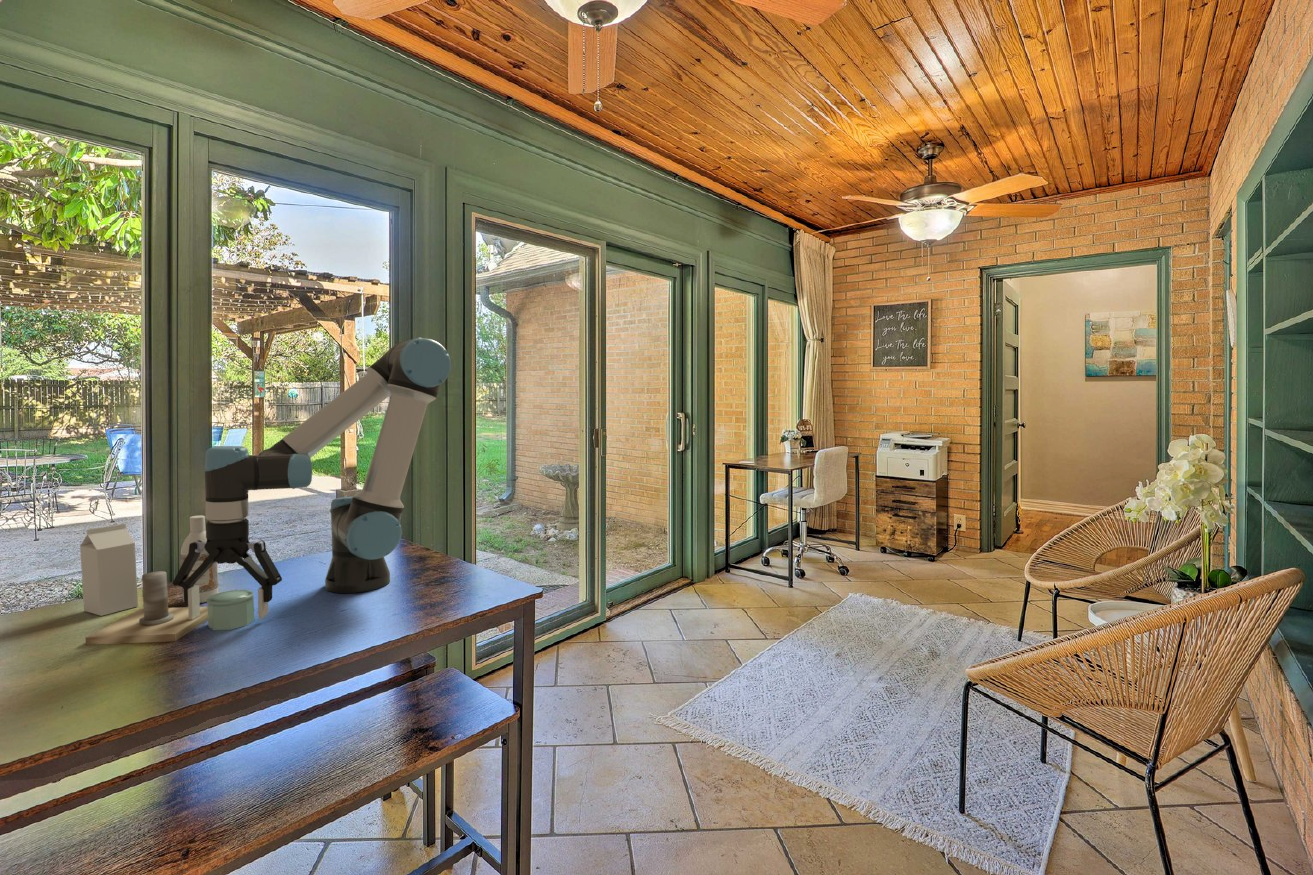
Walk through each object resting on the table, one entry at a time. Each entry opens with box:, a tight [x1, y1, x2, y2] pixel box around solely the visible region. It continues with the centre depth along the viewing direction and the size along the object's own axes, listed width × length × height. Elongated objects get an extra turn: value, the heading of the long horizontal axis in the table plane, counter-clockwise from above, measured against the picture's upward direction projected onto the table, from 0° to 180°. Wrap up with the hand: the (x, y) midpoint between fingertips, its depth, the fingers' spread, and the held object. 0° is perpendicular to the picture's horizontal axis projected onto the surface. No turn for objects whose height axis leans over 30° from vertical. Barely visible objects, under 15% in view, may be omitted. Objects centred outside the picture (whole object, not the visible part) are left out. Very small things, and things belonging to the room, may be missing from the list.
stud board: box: [84, 570, 208, 646], centre depth 132 cm, size 16×16×12 cm
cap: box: [206, 589, 255, 631], centre depth 135 cm, size 8×8×6 cm
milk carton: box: [79, 523, 139, 617], centre depth 142 cm, size 7×7×19 cm
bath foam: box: [180, 515, 220, 604], centre depth 149 cm, size 7×7×20 cm
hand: (228, 617), depth 135 cm, fingers open, 13 cm apart
